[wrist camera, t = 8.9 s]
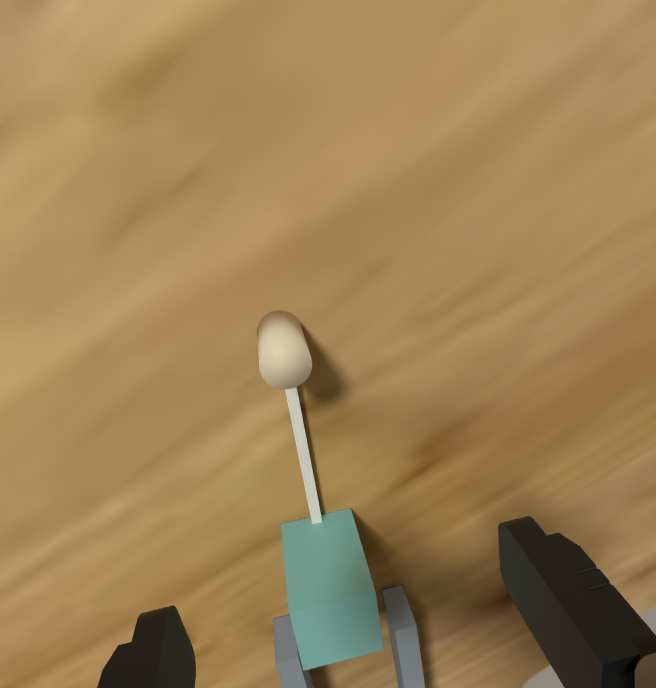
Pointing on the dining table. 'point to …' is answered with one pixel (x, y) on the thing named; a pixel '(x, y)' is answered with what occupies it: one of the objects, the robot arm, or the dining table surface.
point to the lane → (401, 635)
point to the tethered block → (318, 530)
